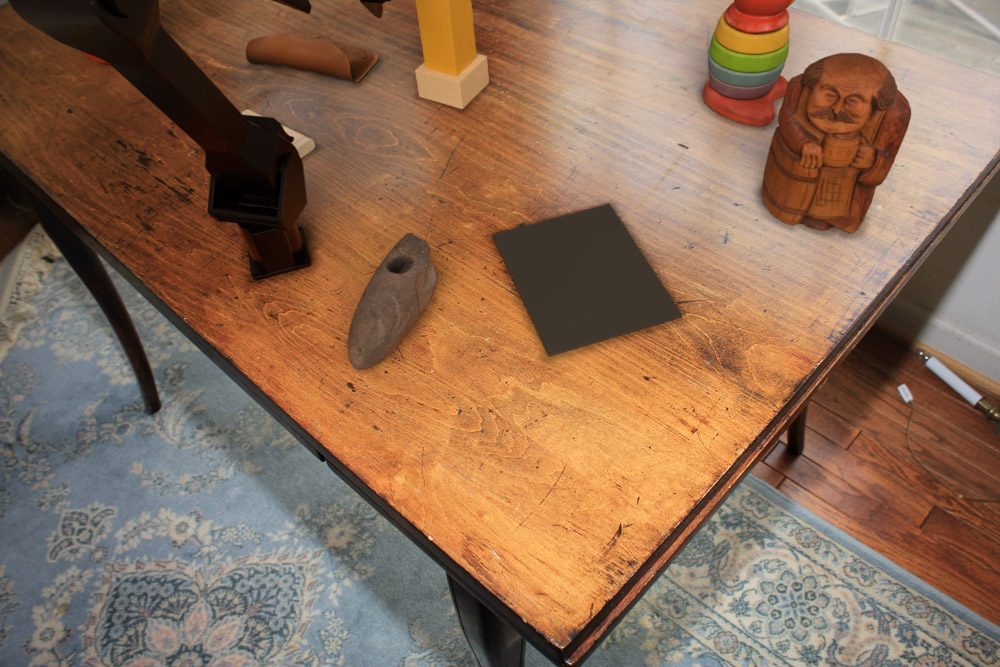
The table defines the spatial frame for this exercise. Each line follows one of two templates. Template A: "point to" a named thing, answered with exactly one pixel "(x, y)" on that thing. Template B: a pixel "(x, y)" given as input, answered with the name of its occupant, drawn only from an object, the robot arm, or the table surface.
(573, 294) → the slate mat
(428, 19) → the mustard block
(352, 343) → the perforated stone tool
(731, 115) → the stacking bear
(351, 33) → the table surface
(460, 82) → the tan block
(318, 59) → the sunglasses case
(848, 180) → the wooden figurine
